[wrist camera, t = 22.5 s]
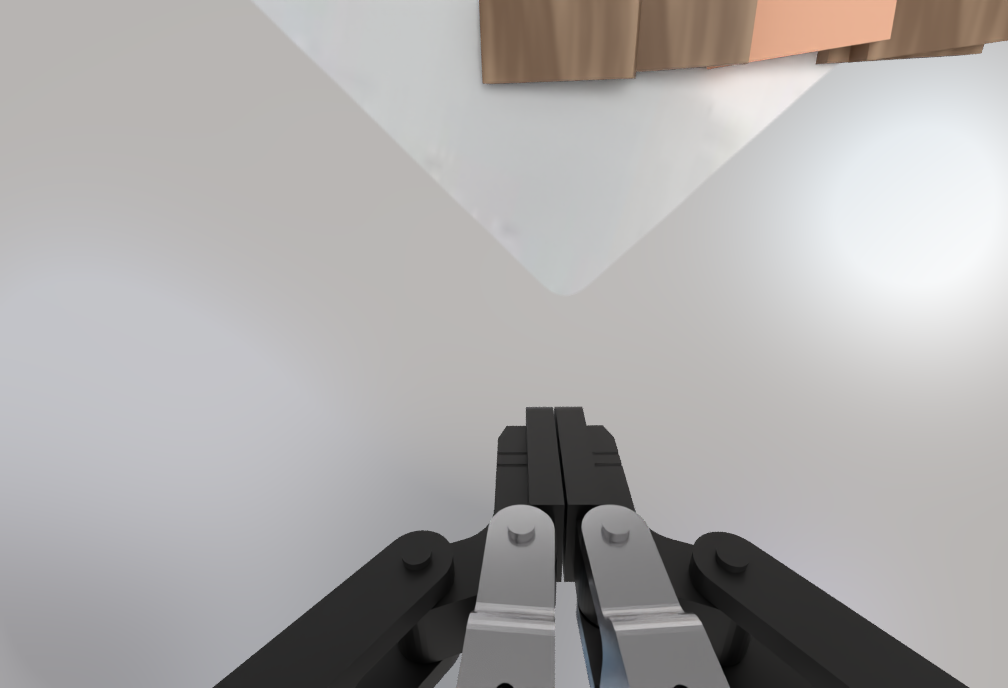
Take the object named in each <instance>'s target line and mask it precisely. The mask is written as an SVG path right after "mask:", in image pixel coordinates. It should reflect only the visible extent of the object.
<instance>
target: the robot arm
mask: <svg viewBox="0 0 1008 688" xmlns="http://www.w3.org/2000/svg"><path fill="white" fill-rule="evenodd" d="M495 490H496V491H495V509H494V515H493V517H492V519H491V521H490V523H489V524H488V525H487V527H486V528H484V529H483V530H482V531H481V532H479V533H478V534H476V535H474V536H472V537H470V538H467V539H464V540H460V541H457V542H453V543H449V542H448V541H447V539H445V538H444V537H443V536H442V535H440V534H438V533H435V532H432V531H423V530H422V531H414V532H410V533H407V534H405V535H403V536H401V537H399V538H398V539H396V540H395V541H394V542H392V543H391V544H390V545H389V546H387V547H386V548H385V549H384V550H382V551H381V552H380V553H379V554H378V555H376V556H375V557H374V558H373V559H371V560H370V561H369V562H368V563H367V564H365V565H364V566H363V567H361V568H360V569H359V570H358V571H356V572H355V573H354V574H353V575H352V576H350V577H349V578H348V579H347V580H345V581H344V582H343V583H342V584H340V585H339V586H338V587H337V588H335V589H334V590H333V591H332V592H331V593H329V594H328V595H327V596H325V597H324V598H323V599H322V600H321V601H319V602H318V603H317V604H316V605H314V606H313V607H312V608H311V609H309V610H308V611H307V612H306V613H304V614H303V615H302V616H301V617H300V618H298V619H297V620H296V621H295V622H293V623H292V624H291V625H290V626H288V627H287V628H286V629H285V630H283V631H282V632H281V633H280V634H279V635H277V636H276V637H275V638H273V639H272V640H271V641H270V642H269V643H267V644H266V645H265V646H264V647H262V648H261V649H260V650H259V651H257V652H256V653H255V654H254V655H252V656H251V657H250V658H249V659H247V660H246V661H245V662H244V663H243V664H241V665H240V666H239V667H238V668H236V669H235V670H234V671H233V672H231V673H230V674H229V675H228V676H226V677H225V678H224V679H223V680H222V681H220V682H219V683H218V684H217V685H215V686H214V687H213V688H434V687H435V685H436V684H437V683H438V682H439V681H440V680H441V678H442V677H443V676H444V675H445V674H446V673H447V672H448V670H449V669H450V668H451V667H452V666H453V664H454V663H455V662H456V660H457V658H458V657H459V654H460V653H462V657H461V663H460V669H459V675H458V680H457V686H456V688H555V617H554V609H555V604H556V582H561V576H562V564H563V574H564V582H575V586H576V593H577V604H576V618H577V623H578V628H579V634H580V639H581V643H582V649H583V654H584V659H585V664H586V669H587V674H588V680H589V685H590V688H969V687H967V686H966V685H964V684H963V683H961V682H960V681H958V680H957V679H955V678H954V677H952V676H951V675H949V674H948V673H946V672H945V671H943V670H941V669H940V668H939V667H937V666H936V665H934V664H932V663H931V662H930V661H928V660H927V659H925V658H924V657H922V656H921V655H919V654H918V653H916V652H915V651H913V650H912V649H910V648H909V647H907V646H905V645H904V644H903V643H901V642H900V641H898V640H896V639H895V638H894V637H892V636H890V635H889V634H888V633H886V632H885V631H883V630H882V629H880V628H878V627H877V626H876V625H874V624H872V623H871V622H870V621H868V620H867V619H865V618H863V617H862V616H860V615H859V614H858V613H856V612H855V611H853V610H851V609H850V608H848V607H847V606H845V605H844V604H842V603H841V602H839V601H838V600H836V599H835V598H833V597H831V596H830V595H829V594H827V593H826V592H824V591H823V590H821V589H820V588H818V587H817V586H815V585H814V584H812V583H811V582H809V581H808V580H806V579H805V578H803V577H802V576H800V575H799V574H797V573H796V572H794V571H793V570H791V569H790V568H788V567H787V566H785V565H784V564H782V563H781V562H779V561H778V560H776V559H775V558H773V557H772V556H770V555H769V554H767V553H766V552H764V551H762V550H761V549H759V548H758V547H757V546H755V545H754V544H752V543H751V542H749V541H747V540H746V539H744V538H741V537H739V536H737V535H734V534H730V533H726V532H711V533H707V534H704V535H702V536H701V537H699V538H698V539H697V540H696V542H695V544H694V545H692V544H688V543H684V542H680V541H677V540H672V539H670V538H666V537H664V536H661V535H659V534H657V533H656V532H654V531H652V530H651V529H650V528H649V527H648V526H647V524H646V522H645V521H644V519H643V518H642V517H641V516H639V515H638V514H637V513H636V511H635V509H634V505H633V502H632V498H631V495H630V491H629V488H628V484H627V481H626V477H625V474H624V470H623V467H622V466H621V460H620V456H619V455H618V449H617V446H616V443H615V439H614V437H613V436H612V435H611V434H610V433H609V432H608V431H607V430H606V429H605V428H604V426H602V425H599V426H598V425H594V426H593V425H592V426H586V422H585V417H584V412H583V409H582V407H555V409H554V412H553V407H526V426H506V428H505V429H504V431H503V432H502V434H501V435H500V436H499V438H498V451H497V471H496V489H495Z"/></svg>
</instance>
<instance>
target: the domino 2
mask: <svg viewBox="0 0 1008 688" xmlns="http://www.w3.org/2000/svg"><path fill="white" fill-rule="evenodd" d="M757 1H758V0H642V5H641V17H640V29H639V41H638V53H637V66H636V72H644V71H658V70H671V69H685V68H698V67H711V66H725V65H738V64H747V63H749V57H750V50H751V43H752V36H753V29H754V22H755V15H756V8H757Z"/></svg>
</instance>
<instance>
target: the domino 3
mask: <svg viewBox="0 0 1008 688" xmlns="http://www.w3.org/2000/svg"><path fill="white" fill-rule="evenodd" d="M896 2H897V0H758V1H757V8H756V15H755V22H754V29H753V36H752V43H751V50H750V57H749V62H754V61H761V60H767V59H773V58H779V57H785V56H791V55H797V54H803V53H809V52H815V51H821V50H827V49H833V48H839V47H845V46H851V45H857V44H863V43H869V42H875V41H881V40H887V39H890V38H891V32H892V26H893V20H894V14H895V8H896ZM725 66H730V65H725ZM718 67H724V66H711V67H707V69H712V68H718Z"/></svg>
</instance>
